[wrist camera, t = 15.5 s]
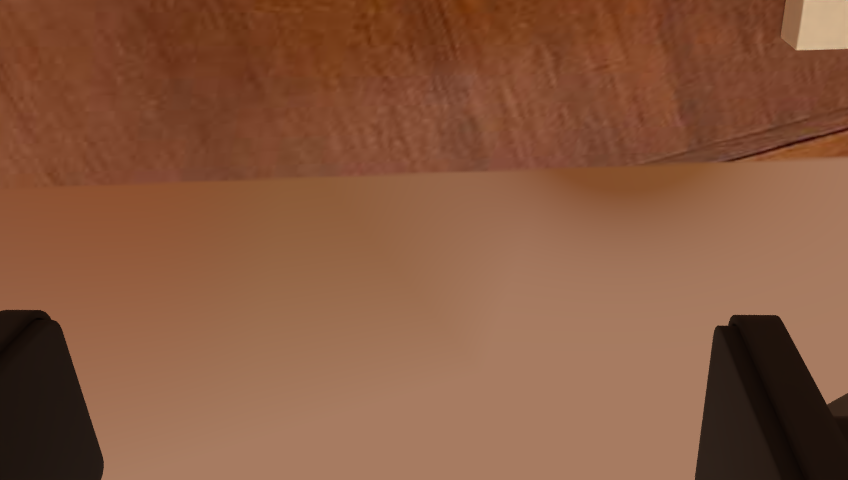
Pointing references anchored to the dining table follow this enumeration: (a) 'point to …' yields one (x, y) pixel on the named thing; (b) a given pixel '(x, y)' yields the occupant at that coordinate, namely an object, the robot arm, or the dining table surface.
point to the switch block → (815, 24)
